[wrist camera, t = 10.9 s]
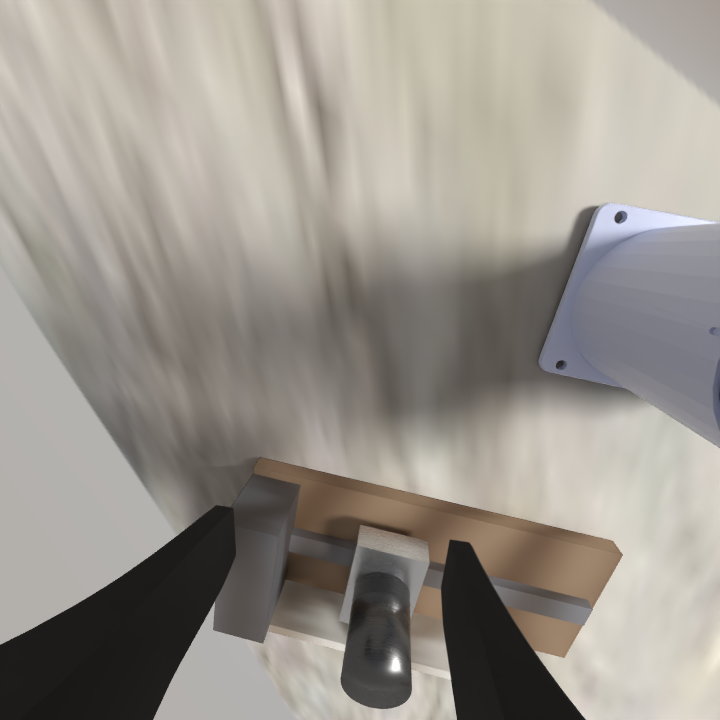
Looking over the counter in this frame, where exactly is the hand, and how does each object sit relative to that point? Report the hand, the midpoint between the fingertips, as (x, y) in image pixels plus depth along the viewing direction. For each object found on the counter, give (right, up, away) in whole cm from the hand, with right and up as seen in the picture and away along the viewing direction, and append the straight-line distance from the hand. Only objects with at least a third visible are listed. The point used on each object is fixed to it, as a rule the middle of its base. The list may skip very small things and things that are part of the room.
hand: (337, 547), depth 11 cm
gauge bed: (+4, -7, +11) cm, 14 cm away
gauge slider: (+2, -8, +10) cm, 13 cm away
